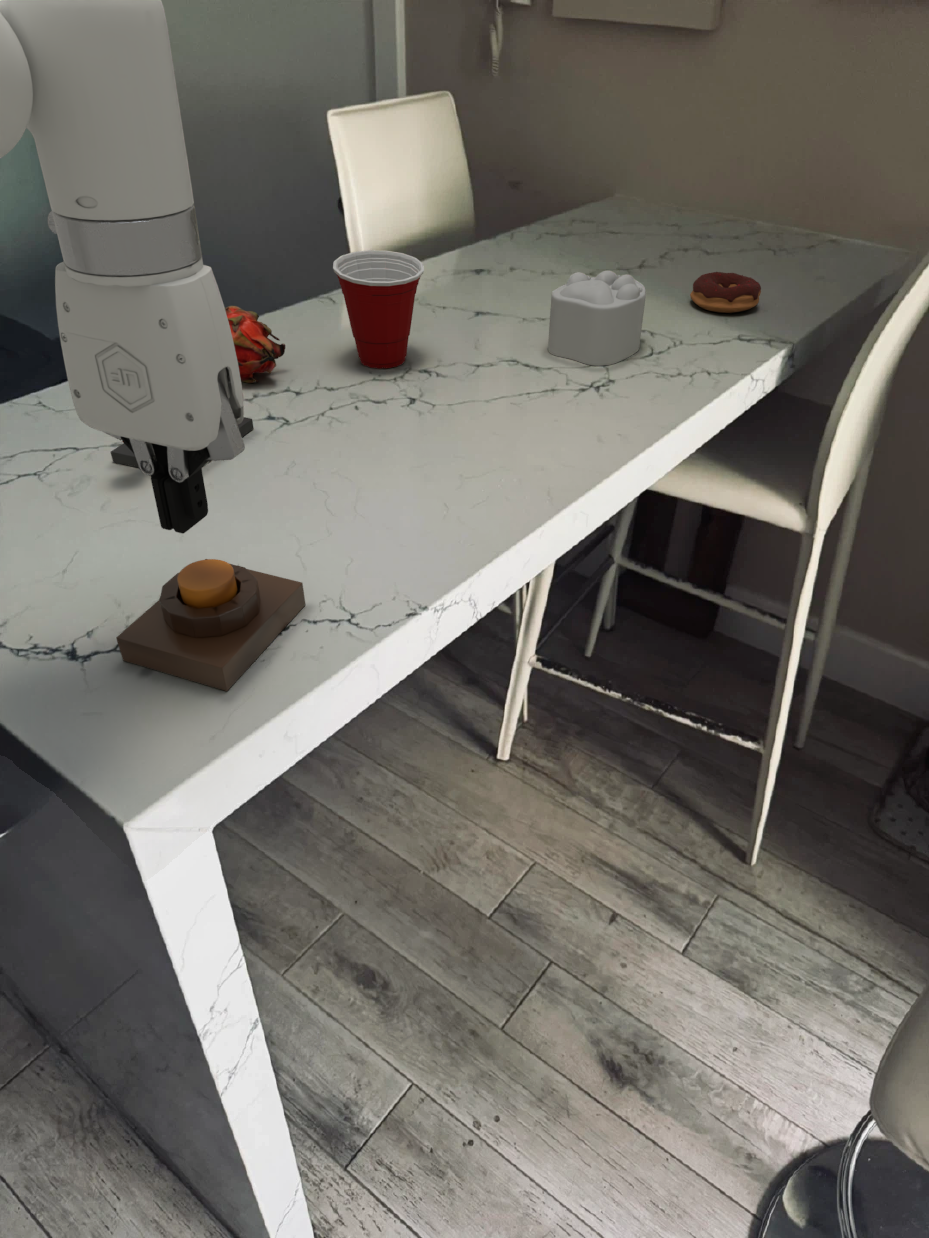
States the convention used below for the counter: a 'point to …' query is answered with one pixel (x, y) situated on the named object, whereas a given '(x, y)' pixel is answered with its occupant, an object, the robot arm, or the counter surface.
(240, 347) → the dragon fruit
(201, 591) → the warm button
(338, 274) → the plastic cup
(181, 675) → the control block
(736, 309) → the donut
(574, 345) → the lumpy-topped squat cylinder
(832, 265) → the counter surface
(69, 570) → the counter surface
